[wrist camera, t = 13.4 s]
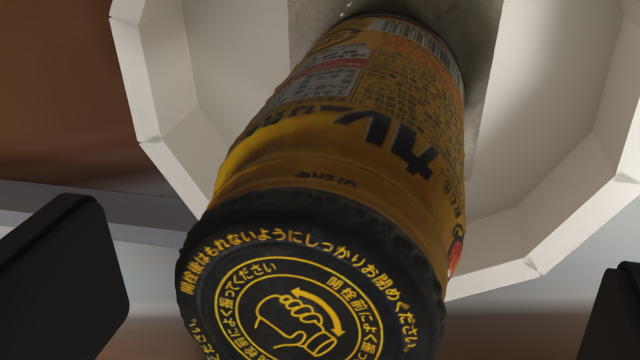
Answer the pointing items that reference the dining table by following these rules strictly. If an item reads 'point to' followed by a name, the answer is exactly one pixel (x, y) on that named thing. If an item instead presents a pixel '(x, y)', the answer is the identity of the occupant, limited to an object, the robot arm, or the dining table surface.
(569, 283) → the dining table surface
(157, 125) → the bowl
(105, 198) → the square frame
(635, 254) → the dining table surface
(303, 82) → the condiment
